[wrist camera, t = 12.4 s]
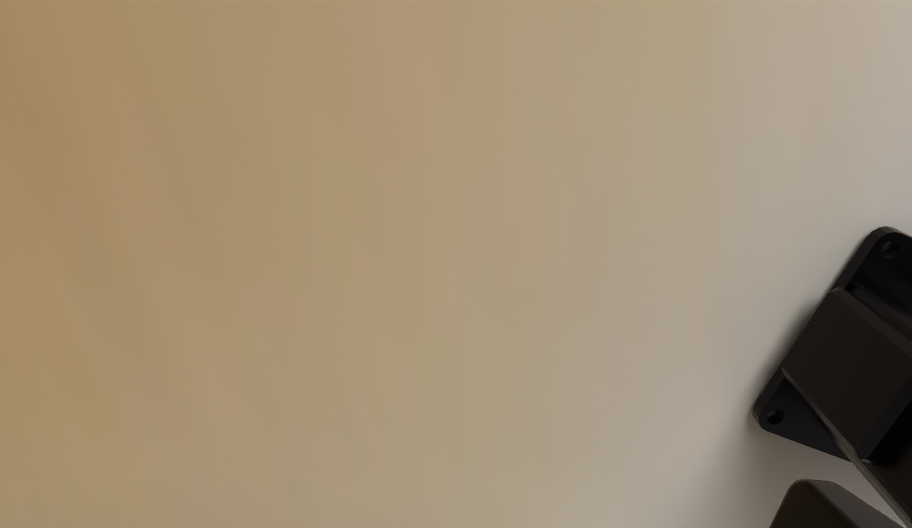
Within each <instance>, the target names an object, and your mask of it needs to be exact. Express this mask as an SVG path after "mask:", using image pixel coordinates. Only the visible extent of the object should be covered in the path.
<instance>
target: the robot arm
mask: <svg viewBox="0 0 912 528" xmlns="http://www.w3.org/2000/svg"><path fill="white" fill-rule="evenodd" d="M889 241H891V245H890V248H889V249H888V250H886V251H885V252H883V253H881V249H882V246H883V245H884V244H885V243H886V242H889ZM775 409H778V410H777V412H776V413H775V414H774V415H772V416H769V417H768V414H769V413H770V412H771V411H773V410H775ZM753 416H754V418H755V420H756V421H757V422H758V424H759V425H760V427H761V428H763V429H764V430H766V431H768V432H771V433H774V434H776V435H779V436H782V437H784V438H787V439H790V440H793V441H795V442H798V443H801V444H803V445H806V446H809V447H812V448H814V449H817V450H820V451H822V452H825V453H828V454H831V455H833V456H836V457H839V458H841V459H844V460H847V461H850V462H852V463H853V464H854V465H855V466H856V468H857V469H858V470H859V471H860V472H861V473H862V475H863V476H864V477H865V478H866V479H867V480H868V482H869V483H870V484H871V485H872V486H873V487H874V489H875V490H876V491H877V492H878V493H879V495H880V496H881V497H882V498H883V499H884V500H885V502H886V503H887V504H888V505H889V506H890V507H891V509H892V510H893V511H894V512H895V513H896V514H897V516H898V517H899V518H900V519H901V520H902V521H903V523H904V524H905V525H906V526H907V527H908V528H912V236H910V235H908V234H905V233H903V232H901V231H899V230H897V229H894V228H892V227H887V226H886V227H880V228H877V229H876V230H874V231H872V232H871V233H870V234H869V235H868V236H867V237H866V239H865V240H864V242H863V243H862V245H861V246H860V248H859V249H858V251H857V252H856V254H855V255H854V257H853V258H852V260H851V261H850V263H849V264H848V266H847V267H846V269H845V270H844V272H843V273H842V275H841V276H840V278H839V279H838V281H837V282H836V284H835V285H834V287H833V288H832V290H831V291H830V292H829V293H828V295H827V296H826V298H825V299H824V301H823V302H822V304H821V305H820V307H819V308H818V310H817V311H816V313H815V314H814V316H813V317H812V319H811V320H810V322H809V323H808V325H807V326H806V328H805V329H804V331H803V332H802V334H801V335H800V336H799V338H798V339H797V341H796V342H795V344H794V345H793V347H792V348H791V350H790V351H789V353H788V354H787V356H786V357H785V359H784V360H783V362H782V364H781V366H780V367H779V369H778V370H777V372H776V373H775V375H774V376H773V378H772V379H771V381H770V382H769V384H768V385H767V387H766V388H765V390H764V391H763V393H762V394H761V396H760V397H759V399H758V400H757V402H756V403H755V405H754V407H753ZM769 528H903V527H902V526H900V525H899V524H897V523H896V522H894V521H893V520H891V519H890V518H888V517H887V516H885V515H884V514H882V513H881V512H879V511H878V510H876V509H875V508H873V507H872V506H870V505H869V504H867V503H866V502H864V501H863V500H861V499H859V498H858V497H856V496H855V495H853V494H852V493H850V492H849V491H847V490H846V489H844V488H843V487H841V486H840V485H838V484H836V483H833V482H830V481H821V480H811V479H800V480H797V481H795V482H794V483H793V484H792V485H791V486H790V487H789V489H788V491H787V493H786V495H785V497H784V499H783V501H782V503H781V505H780V507H779V509H778V511H777V513H776V515H775V517H774V519H773V521H772V523H771V525H770V527H769Z"/></svg>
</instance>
